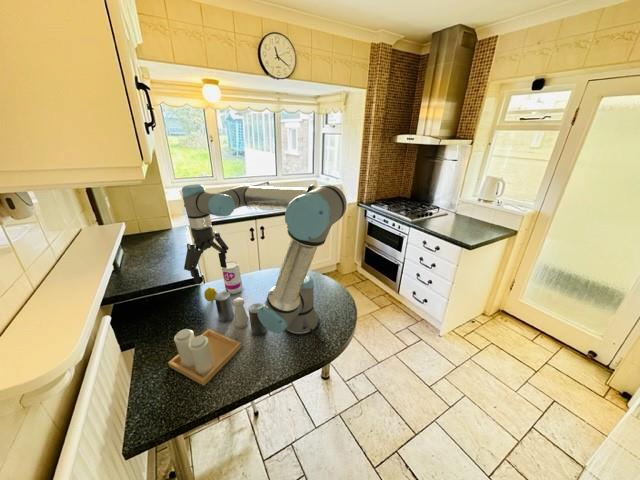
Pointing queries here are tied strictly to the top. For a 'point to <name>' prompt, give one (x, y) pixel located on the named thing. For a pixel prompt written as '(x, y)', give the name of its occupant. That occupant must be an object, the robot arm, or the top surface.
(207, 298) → the lemon
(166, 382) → the top surface
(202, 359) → the white shaker
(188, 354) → the white shaker
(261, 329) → the grey canister near
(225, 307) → the grey canister far
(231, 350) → the tray
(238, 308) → the salt shaker
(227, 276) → the supplement can
